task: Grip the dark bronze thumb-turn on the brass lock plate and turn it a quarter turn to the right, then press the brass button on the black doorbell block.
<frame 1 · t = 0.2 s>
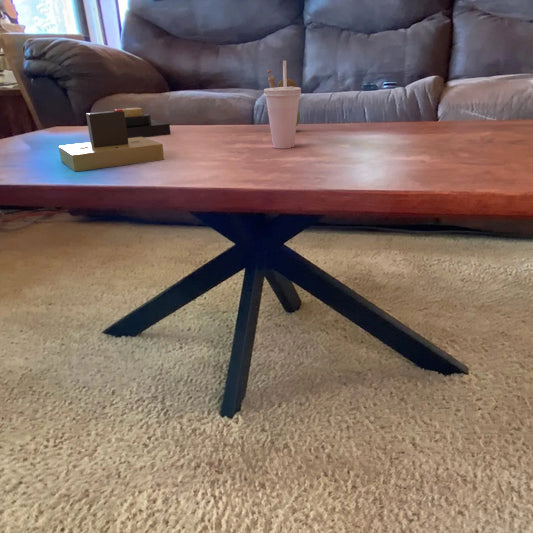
smoothie: (283, 147, 90), on the table
lock turn: (107, 127, 81), point 5 cm above the table, hinge at 0.0°
snail figurine: (284, 132, 106), on the table
bell button: (132, 113, 106), point 4 cm above the table, slide at 0.1 cm
bell block: (135, 134, 108), on the table
lock plate: (112, 160, 83), on the table
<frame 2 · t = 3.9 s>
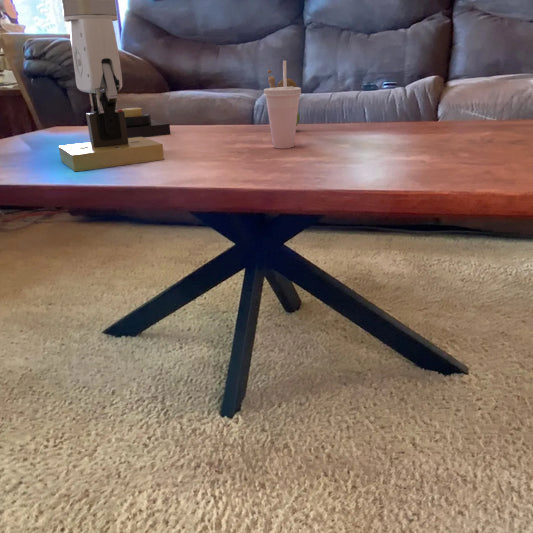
hand: (108, 137, 81), 4 cm above the table, tool pointing down, fingers closed on lock turn, 2 cm apart
lock turn: (107, 127, 81), point 5 cm above the table, hinge at 0.0°, touching gripper
everything else where it was.
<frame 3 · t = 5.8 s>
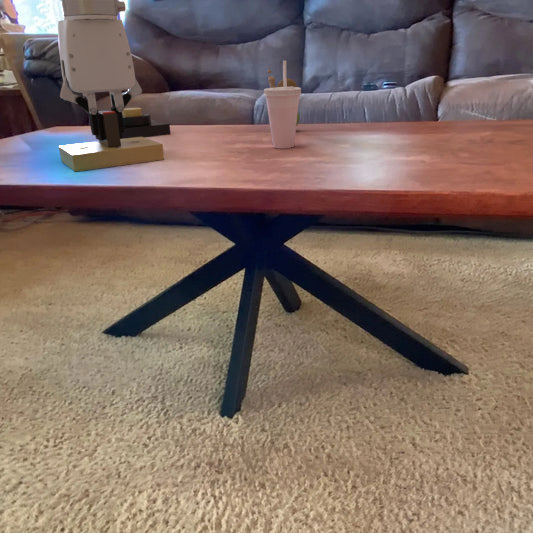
hand: (109, 137, 81), 4 cm above the table, tool pointing down, fingers closed on lock turn, 2 cm apart
lock turn: (107, 127, 81), point 5 cm above the table, hinge at -90.0°, touching gripper
everything else where it was.
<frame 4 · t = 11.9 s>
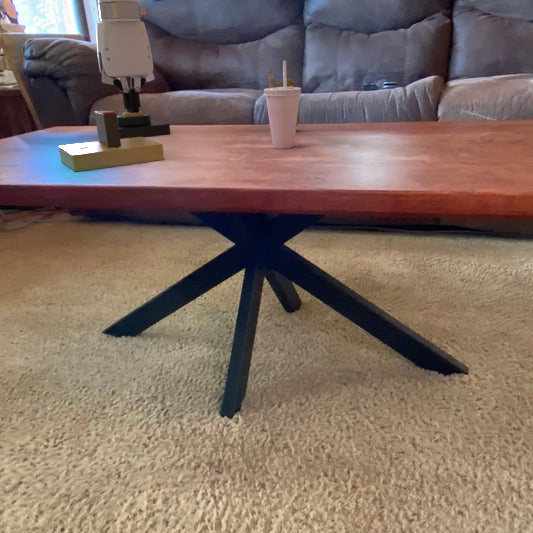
hand: (133, 112, 106), 5 cm above the table, tool pointing down, fingers closed
lock turn: (107, 127, 81), point 5 cm above the table, hinge at -90.1°
bell button: (132, 116, 107), point 4 cm above the table, slide at -0.6 cm, touching gripper
everything else where it was.
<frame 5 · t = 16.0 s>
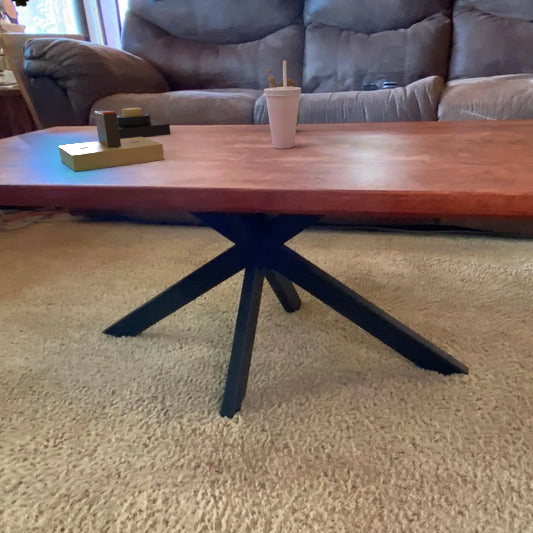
hand: (21, 5, 99), 25 cm above the table, tool pointing down, fingers closed
bell button: (132, 113, 106), point 4 cm above the table, slide at 0.1 cm
everything else where it was.
at the end: lock turn at -90° (first picture: +0°); bell button pushed in 1.1 cm at the most during the clip, back to where it started at the end; bell button slide at 0.1 cm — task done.
